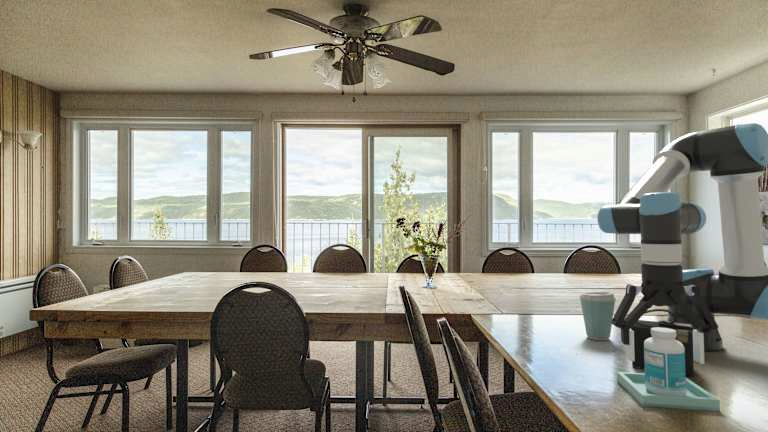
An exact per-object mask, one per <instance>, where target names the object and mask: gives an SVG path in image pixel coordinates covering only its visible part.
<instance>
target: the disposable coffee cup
mask: <svg viewBox="0 0 768 432" xmlns="http://www.w3.org/2000/svg"><path fill="white" fill-rule="evenodd" d="M579 299H580V305H581V309H582V316H583V322H584V323H583V324H584V328H585V334H586V336H587V338H588V339H589V340H594V341H595V340H596V341H609V340H610V337H611V332H612V325H613V324H612V323H611V321H612V319H613V317H614V313H615V312H614V311H615V310H614V309H615V305H616V304H615V303H616V301H617V300H616V299H617V298H616V296H615V295H614V292H611V291H590V292H583V293H581V294H580V295H579Z"/></svg>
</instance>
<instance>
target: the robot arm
mask: <svg viewBox="0 0 768 432" xmlns="http://www.w3.org/2000/svg"><path fill="white" fill-rule="evenodd" d="M767 166H768V132H767V130H766V129H765V127H763V125H761V124H759V123H754V122H753V123H751V122H750V123H743V124H735V125H730V126H725V127H718V128H713V129H707V130H700V131H699V130H698V131H693V132H691V133H687V134H685V135H683V136H680V137H678V138H676V139H675V140H673V141H672V142H670V143H668V144H667V145H666V146H665V147H663V148H662V149H661V150H660V151H659V152H658V153H657V154H655V156H654V158H653V159H652V165H651V166H650V167H649V168H648V169H647V170H646V171H645V172H644V173H643V175H642V176H641V177H640V178H639V179H638V181H636V182H635V184H634V185H633V186H632V187H631V188H630V189H629V190H628V192H626V194H625V195H624V196H623V197H622V198H621V199H620V200H619V201H618V202H617V204H608V205H604V206H602V207H600V209H599V210H598V212H597V219H596V220H597V224H598V228H599V230H600V231H602V232H603V233H605V234H616V235H640V256H641V257H640V260H641V261H642V262H643V263H642V264H641V285H633V284H629V283H628V284H626V286H625V294H624V296H623V298H622V300H621V302H620V303H619V305H618V308H617V309H616V312H614V313H615V314H613V319H612V321H611V323H612V325H613V326H614V327H616V328H619V329H620V341H621V344H623V345H625V357H626V358H627V360H629V361H630V362H632V361H635V354H634V331H632V330H631V327H632V326H633V325H634V324H635V323H636V322H637V321H638V320H641V319H640V318H641V317H643V315H645V314H644V313H645V312H646V311H648V310H650V309H651V308H653V306H654V307H667V310H670V311H672V312H673V313H674V315H675V322H681V323H690V324H692V326H693V328H694V330H693V361H696V362H697V363H699V364H701V365H702V364H703V365H704V364H705V352H706V351H707V352H711V351H712V352H713V351H714V352H715V351H721V350H723V348H724V345H723V343H724V342H723V338H722V336H721V333H720V332H719V325H718V323H717V322H716V320H715V319H716V318H715V314H717V315H722V316H731V317H739V318H744V319H745V318H746V319H750V320H761V321H768V266H767V265H766V264H765V257H764V242H763V241H764V239H763V231H762V230H763V229H762V228H763V227H762V216H761V213H762V212H761V203H760V189H759V178H760V177H761V176H762V175H763V174H764V173H765V172H766V170H765V167H767ZM706 171H707V172H708V171H709V175H710V178H711V179H713V180H714V181H716V182H717V187H718V188H717V189H718V198H719V213H720V214H719V215H720V223H721V224H720V225H721V236H722V247H723V248H722V249H723V261H724V264H723V265H722V266H721V267H720V268H719V269H718V273H717V274H716V273H715V270H714V269H713V268H691V269H690V268H689V269H683V265H682V264H681V263H682V262H683V249H682V248H683V245H682V242H683V241H682V235H687V236H689V235H692V234H695V233H697V232H699V231H701V230H702V229H703V228H704V226H705V225H706V223H707V214H706V212H705V210H704V209H703V207H701V206H700V205H698V204H696V203H693V202H689V201H681V196H680V193H678V192H674V191H673V192H672V191H671V192H669V191H670V189H672V187H673V186H674V184H675V183H676V182H677V180H680V179H683V178H684V177H686V175H688V174H689V173H695V172H706ZM639 293H641V294H642V295H643V297H641V299H640V300H638V301H639V302H638V303H637V304H636V306H635V307H634V308H633V309H632V311H630V309H631V307H632V305H633V304H634V301H635V299H636V297H637V296H638V295H639ZM629 311H630V312H629ZM628 313H629V314H628ZM667 313H668V314H667V315H668V316H667V319H666V321H672V320H673V319H674V316H673V315H672V314H671V313H669V312H667Z"/></svg>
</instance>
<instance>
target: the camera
mask: <svg viewBox="0 0 768 432" xmlns="http://www.w3.org/2000/svg"><path fill="white" fill-rule="evenodd" d="M653 312H654V313H655V312H663V313H664V312H665V313H668V312H669V313H671V314H672V315H673V316H674V319H673V320H672V321H667V320H658V321H655V320H653V321H652V320H643V319H642V320H641V319H639V320H638V321H637V322H636V323H635V324H634V325H633V326H632V327H631V330H632V331H634V354H635V361H631V364H632V365H631V366H632V368H637V369H640V370H641V369H642V370H645V365H644V342H645V340H646V339H648V338H650V337H652V335H651V328H654V327H661V328H669V329H673V330H676V335H677V336H676V338H675V340H677V341H679V342H681V343H682V344H683V346H684V349H685V375H686V376H688V377H689V376H690V377H692V376H694V374H695V371H694V369H695V368H694V367H695V366H694V360H693V330H694V328H693V326H692V324H690V323H681V322H675V315H674V313H673V312H672V311H670V310H668V309H665V308H654V309H648V310H647V311H646V312H645V313H644V314H643V315H645V314H648V313H653Z"/></svg>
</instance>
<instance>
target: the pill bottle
mask: <svg viewBox="0 0 768 432" xmlns="http://www.w3.org/2000/svg"><path fill="white" fill-rule="evenodd" d="M651 335H652V337H650V338H648V339H646V340H645V342H644V365H645V369H644V373H645V386H646V388H647V390H649V391H650V392H652V393H654V394H659V395H676V396H684V395H685V394H686V378H687V377H686V376H687V375H685V349H684V346H683V344H682V343H681V342H679V341H677V340H675V338H676V336H677V335H676V330H673V329H669V328H661V327H654V328H651Z"/></svg>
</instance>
